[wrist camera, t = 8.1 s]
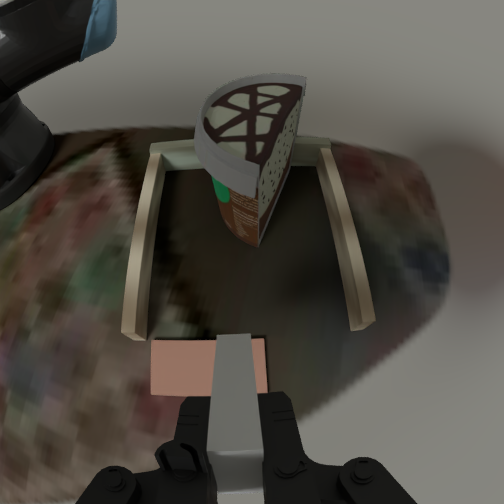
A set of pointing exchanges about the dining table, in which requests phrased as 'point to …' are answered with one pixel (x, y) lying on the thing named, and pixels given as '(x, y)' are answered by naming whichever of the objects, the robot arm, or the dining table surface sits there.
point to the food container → (249, 146)
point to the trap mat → (194, 367)
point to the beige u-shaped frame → (185, 157)
